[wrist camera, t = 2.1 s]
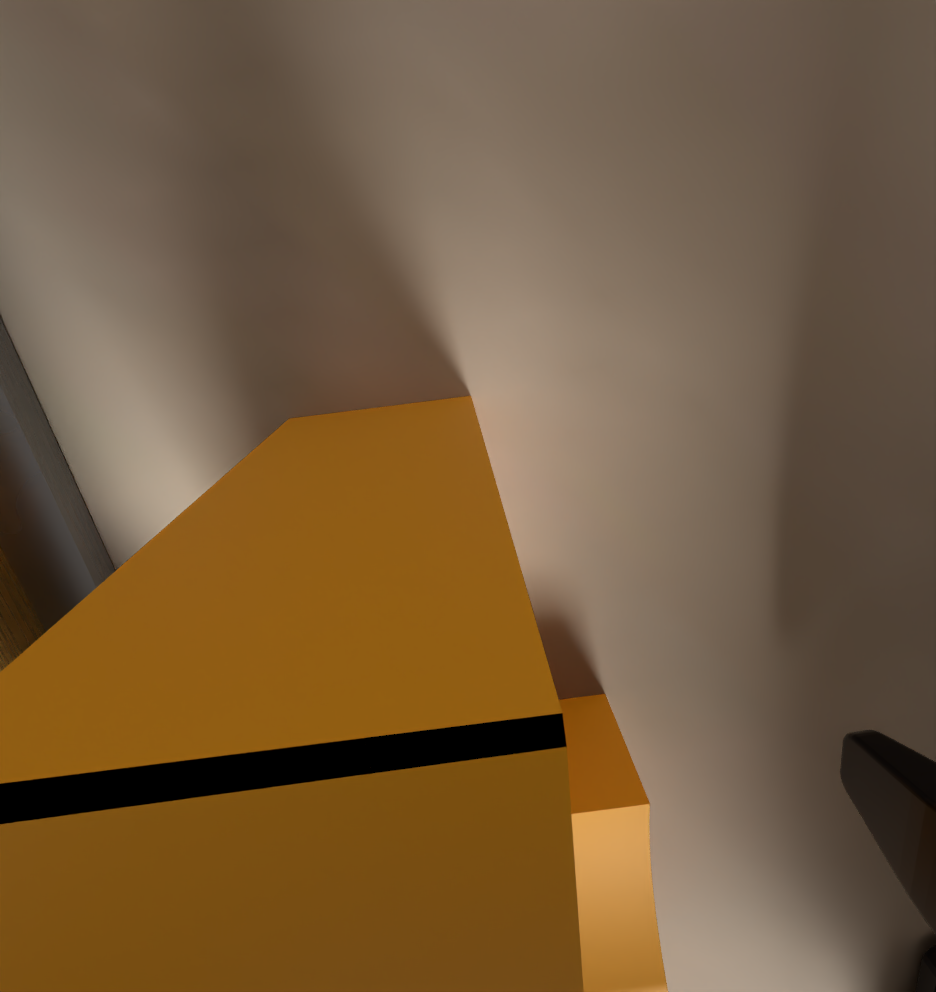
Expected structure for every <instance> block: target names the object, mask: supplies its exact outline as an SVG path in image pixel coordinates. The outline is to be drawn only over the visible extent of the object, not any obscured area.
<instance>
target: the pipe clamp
mask: <svg viewBox="0 0 936 992" xmlns="http://www.w3.org/2000/svg"><path fill="white" fill-rule="evenodd" d="M502 720H509V724H510V730H511V736H512V742H513V748H514V754H511V755H504V756H496V757H489V758H482V759H475V760H467V761H460V762H453V763H445V764H438V765H431V766H423V767H416V768H409V769H401V770H394V771H387V772H380V773H373V771H372V766H371V762H370V758H369V754H368V750H367V745H366V741H365V738H367V737H375V736H383V735H391V734H399V733H407V732H415V731H423V730H431V729H439V728H447V727H455V726H463V725H471V724H479V723H486V722H494V721H502ZM649 813H650V803H649V800H648V798H647V796H646V793H645V791H644V788H643V786H642V783H641V781H640V778H639V776H638V773H637V771H636V769H635V766H634V764H633V761H632V759H631V756H630V754H629V751H628V749H627V746H626V744H625V741H624V739H623V737H622V734H621V732H620V729H619V727H618V724H617V722H616V719H615V717H614V714H613V712H612V710H611V707H610V705H609V702H608V700H607V697H606V695H605V694H600V695H592V696H584V697H576V698H568V699H561V700H559V699H558V696H557V692H556V689H555V685H554V682H553V679H552V675H551V672H550V668H549V665H548V661H547V658H546V654H545V651H544V647H543V644H542V640H541V637H540V633H539V630H538V627H537V623H536V620H535V616H534V613H533V609H532V606H531V602H530V599H529V595H528V592H527V588H526V585H525V582H524V578H523V575H522V571H521V568H520V564H519V561H518V557H517V554H516V550H515V547H514V543H513V540H512V537H511V533H510V530H509V526H508V523H507V519H506V516H505V512H504V509H503V505H502V502H501V498H500V495H499V491H498V488H497V485H496V481H495V478H494V474H493V471H492V467H491V464H490V460H489V457H488V453H487V450H486V446H485V443H484V440H483V436H482V433H481V429H480V426H479V422H478V419H477V415H476V412H475V408H474V405H473V401H472V398H471V396H464V397H456V398H448V399H440V400H433V401H425V402H417V403H409V404H401V405H393V406H385V407H377V408H369V409H361V410H353V411H345V412H337V413H329V414H321V415H313V416H306V417H298V418H290V419H288V420H287V421H286V422H285V423H284V424H282V425H281V426H280V427H279V428H278V429H277V430H276V431H274V432H273V433H272V434H271V435H270V436H269V437H268V438H266V439H265V440H264V441H263V442H262V443H261V444H260V445H258V446H257V447H256V448H255V449H254V450H253V451H252V452H250V453H249V454H248V455H247V456H246V457H245V458H244V459H243V460H241V461H240V462H239V463H238V464H237V465H236V466H235V467H233V468H232V469H231V470H230V471H229V472H228V473H227V474H225V475H224V476H223V477H222V478H221V479H220V480H219V481H217V482H216V483H215V484H214V485H213V486H212V487H211V488H209V489H208V490H207V491H206V492H205V493H204V494H203V495H202V496H200V497H199V498H198V499H197V500H196V501H195V502H194V503H192V504H191V505H190V506H189V507H188V508H187V509H186V510H184V511H183V512H182V513H181V514H180V515H179V516H178V517H176V518H175V519H174V520H173V521H172V522H171V523H170V524H168V525H167V526H166V527H165V528H164V529H163V530H162V531H161V532H159V533H158V534H157V535H156V536H155V537H154V538H153V539H151V540H150V541H149V542H148V543H147V544H146V545H145V546H143V547H142V548H141V549H140V550H139V551H138V552H137V553H135V554H134V555H133V556H132V557H131V558H130V559H129V560H127V561H126V562H125V563H124V564H123V565H122V566H121V567H120V568H118V569H117V570H116V571H115V572H114V573H113V574H112V575H110V576H109V577H108V578H107V579H106V580H105V581H104V582H102V583H101V584H100V585H99V586H98V587H97V588H96V589H94V590H93V591H92V592H91V593H90V594H89V595H88V596H86V597H85V598H84V599H83V600H82V601H81V602H80V603H79V604H77V605H76V606H75V607H74V608H73V609H72V610H71V611H69V612H68V613H67V614H66V615H65V616H64V617H63V618H61V619H60V620H59V621H58V622H57V623H56V624H55V625H53V626H52V627H51V628H50V629H49V630H48V631H47V632H46V633H44V634H43V635H42V636H41V637H40V638H39V639H38V640H36V641H35V642H34V643H33V644H32V645H31V646H30V647H28V648H27V649H26V650H25V651H24V652H23V653H22V654H20V655H19V656H18V657H17V658H16V659H15V660H14V661H12V662H11V663H10V664H9V665H8V666H7V667H6V668H5V669H3V670H2V671H1V672H0V992H668V989H667V983H666V977H665V971H664V965H663V959H662V953H661V947H660V940H659V933H658V926H657V919H656V911H655V902H654V894H653V884H652V873H651V861H650V839H649Z"/></svg>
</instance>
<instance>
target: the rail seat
mask: <svg viewBox="0 0 936 992" xmlns="http://www.w3.org/2000/svg"><path fill="white" fill-rule="evenodd" d="M114 572H115V569H114V567H113V565H112V563H111V561H110V558H109V556H108V554H107V552H106V550H105V547H104V545H103V543H102V541H101V539H100V536H99V534H98V532H97V530H96V527H95V525H94V523H93V521H92V519H91V516H90V514H89V512H88V510H87V508H86V505H85V503H84V501H83V499H82V497H81V494H80V492H79V490H78V488H77V486H76V483H75V481H74V479H73V477H72V475H71V472H70V470H69V468H68V466H67V464H66V461H65V459H64V457H63V455H62V453H61V450H60V448H59V446H58V444H57V441H56V439H55V437H54V435H53V433H52V430H51V428H50V426H49V424H48V422H47V419H46V417H45V415H44V413H43V411H42V408H41V406H40V404H39V402H38V400H37V397H36V395H35V393H34V391H33V389H32V386H31V384H30V382H29V380H28V378H27V375H26V373H25V371H24V369H23V367H22V364H21V362H20V360H19V358H18V355H17V353H16V351H15V349H14V347H13V344H12V342H11V340H10V338H9V336H8V333H7V331H6V329H5V327H4V325H3V322H2V320H1V318H0V672H1V671H2V670H3V669H5V668H6V667H7V666H8V665H9V664H10V663H11V662H12V661H14V660H15V659H16V658H17V657H18V656H19V655H20V654H22V653H23V652H24V651H25V650H26V649H27V648H28V647H30V646H31V645H32V644H33V643H34V642H35V641H36V640H38V639H39V638H40V637H41V636H42V635H43V634H44V633H46V632H47V631H48V630H49V629H50V628H51V627H52V626H53V625H55V624H56V623H57V622H58V621H59V620H60V619H61V618H63V617H64V616H65V615H66V614H67V613H68V612H69V611H71V610H72V609H73V608H74V607H75V606H76V605H77V604H79V603H80V602H81V601H82V600H83V599H84V598H85V597H86V596H88V595H89V594H90V593H91V592H92V591H93V590H94V589H96V588H97V587H98V586H99V585H100V584H101V583H102V582H104V581H105V580H106V579H107V578H108V577H109V576H110V575H112V574H113V573H114Z"/></svg>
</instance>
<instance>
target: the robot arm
mask: <svg viewBox="0 0 936 992" xmlns="http://www.w3.org/2000/svg"><path fill="white" fill-rule="evenodd" d="M840 775H841V780H842V783H843V785H844V788H845V790H846V792H847V793H848V795H849V797H850V798H851V800H852V802H853V803H854V805H855V807H856V809H857V810H858V812H859V814H860V815H861V817H862V819H863V820H864V822H865V824H866V826H867V827H868V829H869V831H870V832H871V834H872V836H873V837H874V839H875V841H876V842H877V844H878V846H879V848H880V849H881V851H882V853H883V854H884V856H885V858H886V859H887V861H888V863H889V865H890V866H891V868H892V870H893V871H894V873H895V875H896V876H897V878H898V880H899V881H900V883H901V885H902V886H903V888H904V889H905V891H906V893H907V894H908V896H909V897H910V899H911V900H912V902H913V903H914V905H915V906H916V908H917V909H918V911H919V912H920V914H921V915H922V916H923V918H924V919H925V921H926V922H927V924H928V925H929V926H930V928H931V929H932V931H933V932H934V933H935V935H936V762H935V761H933V760H931V759H929V758H927V757H925V756H923V755H922V754H920V753H918V752H916V751H914V750H912V749H910V748H908V747H906V746H905V745H903V744H901V743H899V742H897V741H895V740H893V739H891V738H889V737H888V736H886V735H884V734H882V733H880V732H877V731H874V730H865V731H859V732H853V733H849V734H847V735H846V736H845V737H844V740H843V748H842V758H841V769H840ZM916 992H936V945H935V946H933V947H931V948H930V949H929V950H928V951H927V952H925V954H924V956H923V958H922V962H921V967H920V972H919V977H918V982H917V987H916Z"/></svg>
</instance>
